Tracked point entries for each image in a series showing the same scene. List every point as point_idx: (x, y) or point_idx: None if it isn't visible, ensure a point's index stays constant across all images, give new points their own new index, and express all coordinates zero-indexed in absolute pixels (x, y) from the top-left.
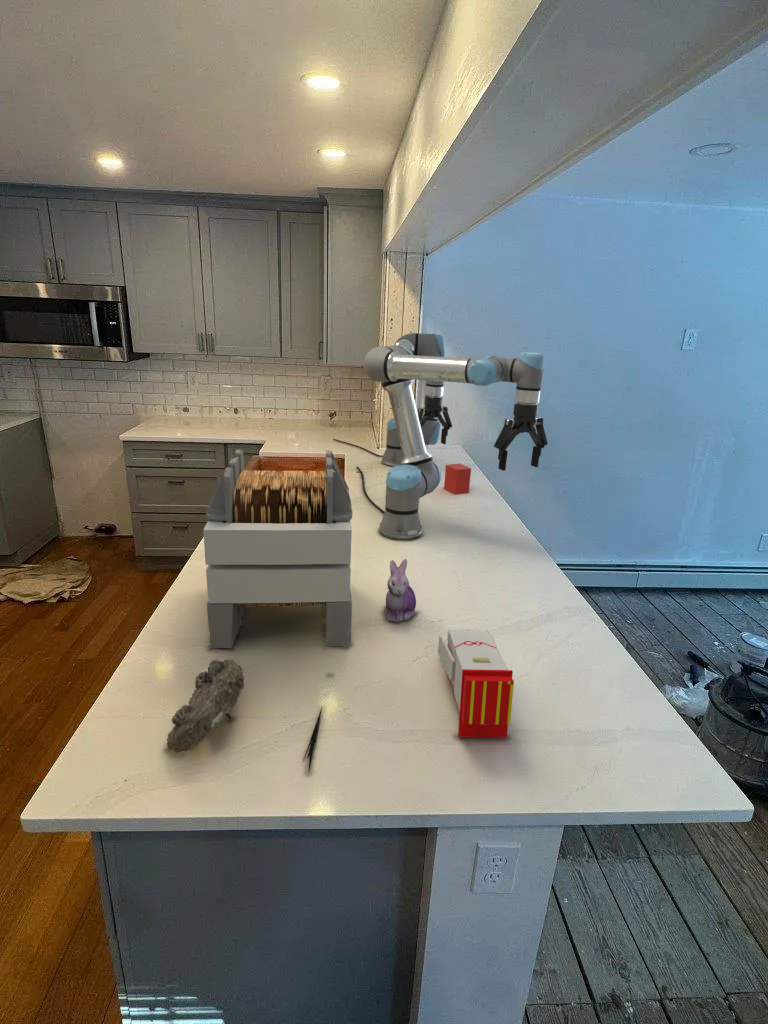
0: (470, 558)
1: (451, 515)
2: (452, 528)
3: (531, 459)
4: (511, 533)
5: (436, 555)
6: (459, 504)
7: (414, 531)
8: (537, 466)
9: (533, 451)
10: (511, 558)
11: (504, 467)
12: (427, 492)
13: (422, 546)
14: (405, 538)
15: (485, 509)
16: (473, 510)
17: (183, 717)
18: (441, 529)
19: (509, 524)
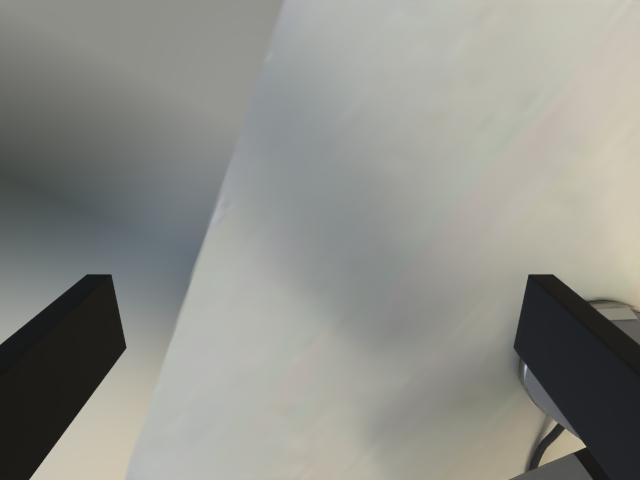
0: (541, 100)
1: (346, 415)
2: (414, 332)
3: (94, 390)
4: (250, 232)
5: (623, 168)
6: (264, 474)
7: (607, 316)
8: (89, 278)
9: (22, 466)
10: (404, 39)
11: (564, 291)
12: (552, 469)
13: (607, 246)
14: (625, 306)
15: (207, 422)
16: (251, 426)
17: None
18: (453, 337)
19: (206, 299)
